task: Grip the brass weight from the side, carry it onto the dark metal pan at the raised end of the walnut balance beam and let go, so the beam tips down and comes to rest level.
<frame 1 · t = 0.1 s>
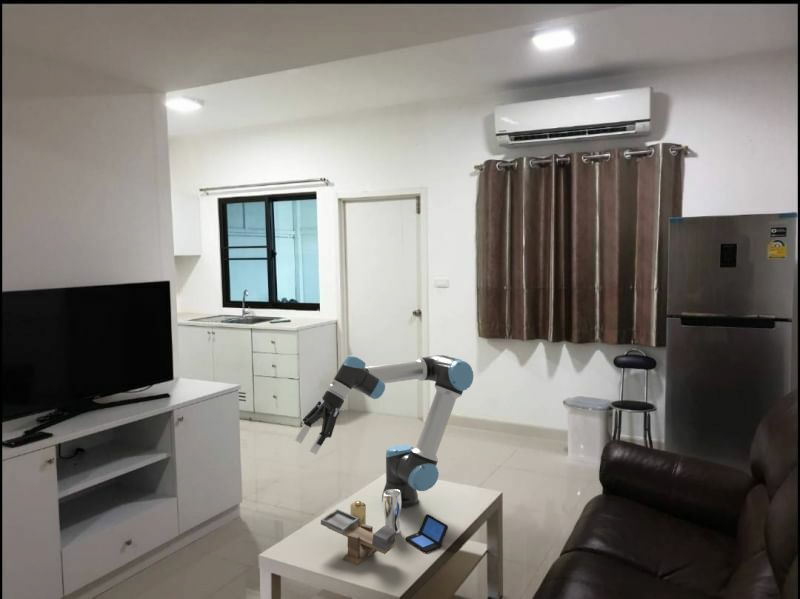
hand: (304, 447, 213), 36 cm above the table, tool tilted 35°, fingers open, 13 cm apart
brass weight: (358, 533, 224), on the table
balance beam: (358, 528, 209), point 9 cm above the table, hinge at -8.0°
handheld game console: (426, 543, 218), on the table
beam stand: (360, 554, 209), on the table
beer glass: (392, 531, 226), on the table
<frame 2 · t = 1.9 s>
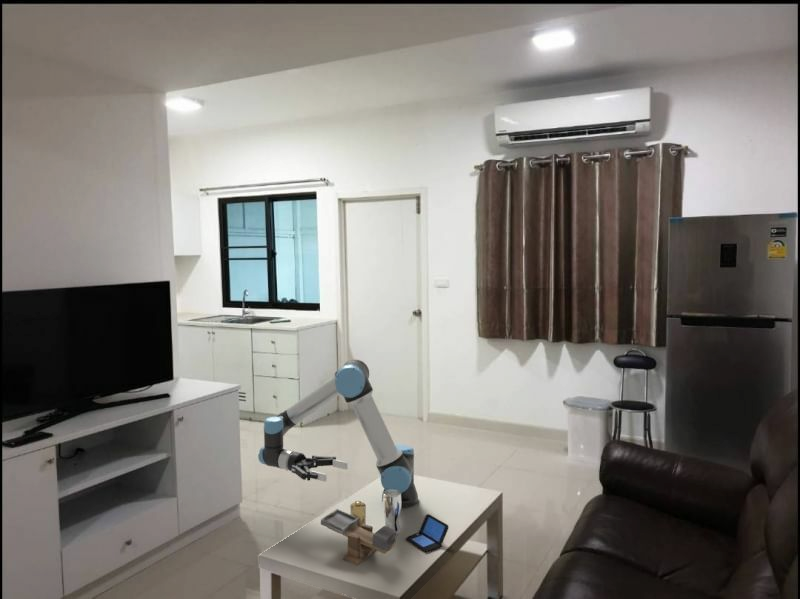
hand: (336, 471, 227), 22 cm above the table, tool horizontal, fingers open, 13 cm apart
nothing on the table moved.
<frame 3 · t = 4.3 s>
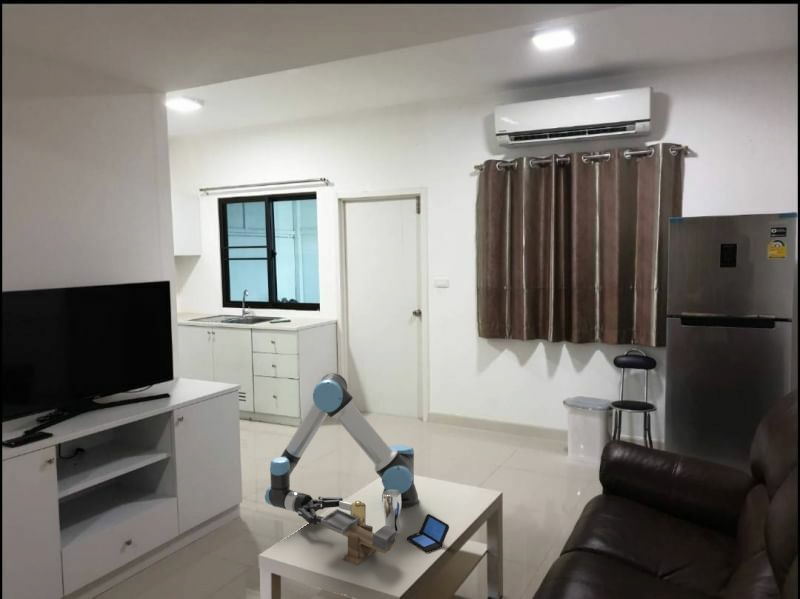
hand: (343, 514, 226), 6 cm above the table, tool horizontal, fingers open, 13 cm apart
nothing on the table moved.
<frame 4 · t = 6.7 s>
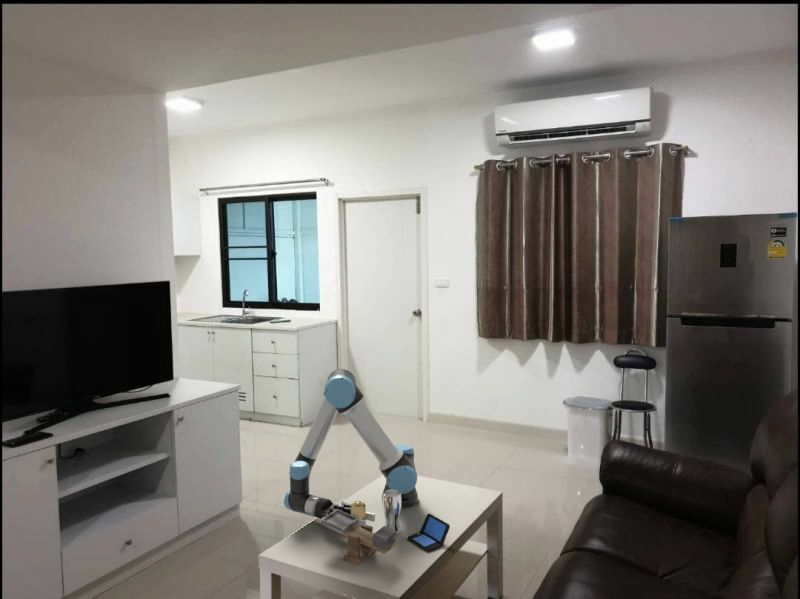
hand: (369, 521, 221), 6 cm above the table, tool horizontal, fingers closed on brass weight, 6 cm apart
brass weight: (358, 533, 224), on the table, touching gripper
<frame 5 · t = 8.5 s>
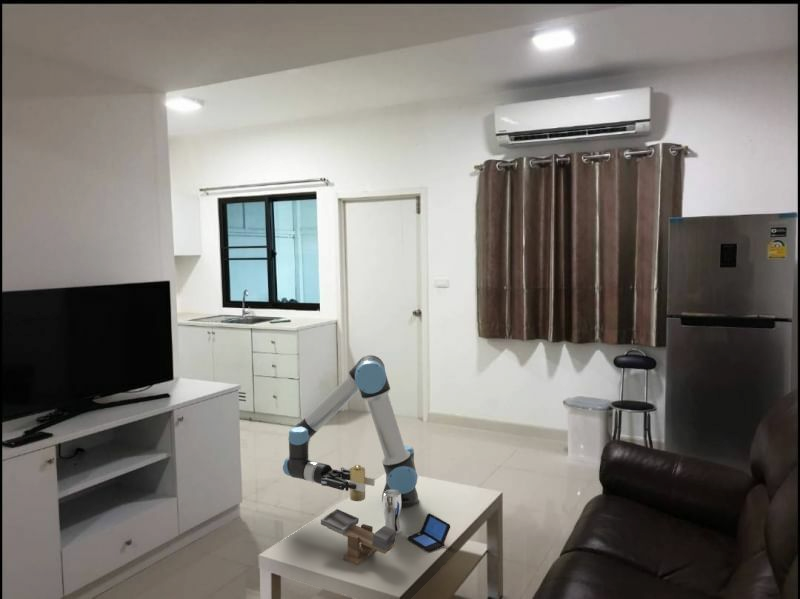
hand: (369, 485, 219), 20 cm above the table, tool horizontal, fingers closed on brass weight, 6 cm apart
brass weight: (357, 498, 223), point 14 cm above the table, touching gripper
when the fingers open (18 cm above the table, at t = 10.6 s): brass weight drops 2 cm, resting on balance beam.
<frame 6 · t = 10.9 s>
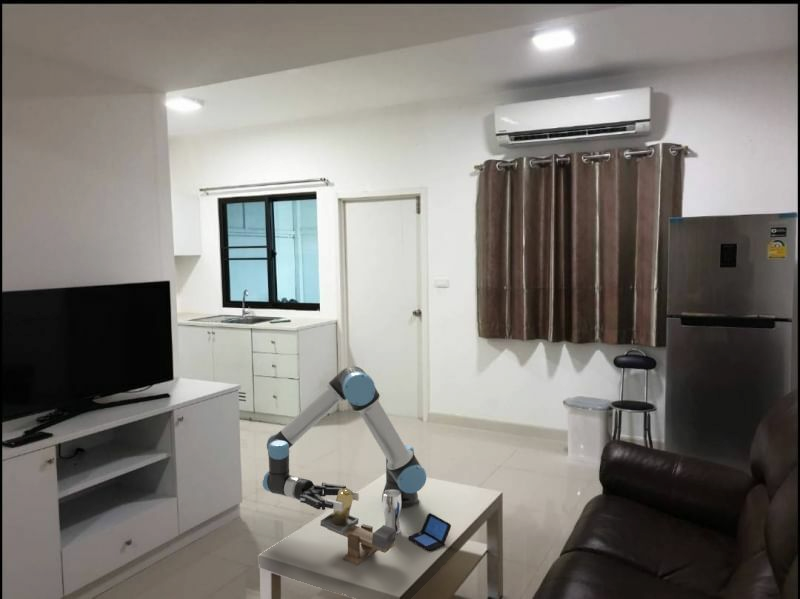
hand: (350, 501, 209), 18 cm above the table, tool horizontal, fingers open, 9 cm apart
brass weight: (339, 520, 213), point 10 cm above the table, tilted 16°, touching balance beam
balance beam: (358, 528, 209), point 9 cm above the table, hinge at -5.9°, touching brass weight
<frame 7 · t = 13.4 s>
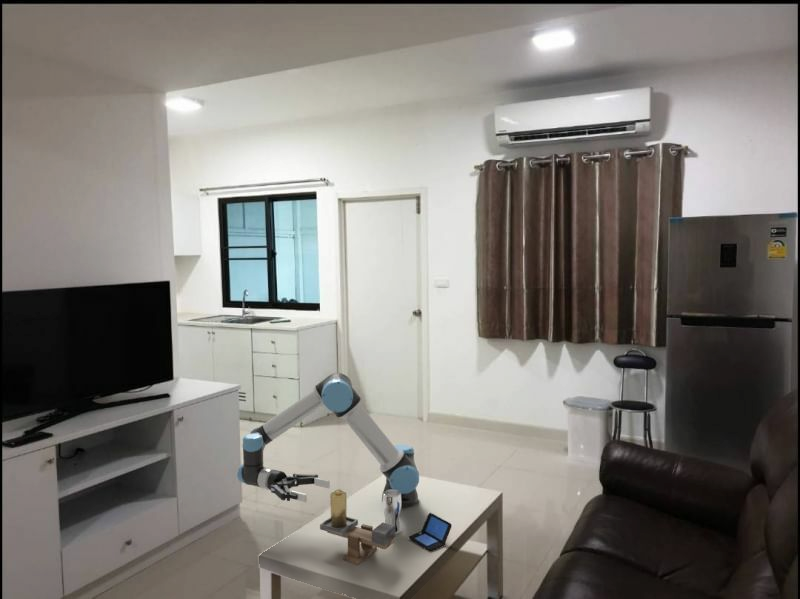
hand: (317, 491, 217), 19 cm above the table, tool horizontal, fingers open, 13 cm apart
brass weight: (338, 524, 213), point 9 cm above the table, touching balance beam
balance beam: (358, 528, 209), point 9 cm above the table, hinge at 0.2°, touching brass weight
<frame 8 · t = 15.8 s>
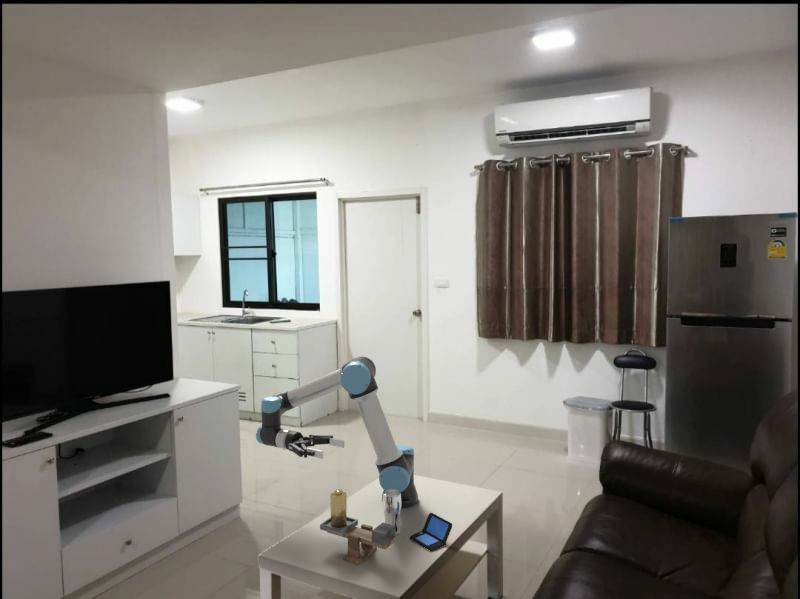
hand: (333, 449, 228), 30 cm above the table, tool horizontal, fingers open, 13 cm apart
at the end: balance beam at +0° (first picture: -8°); brass weight inside the target area on the balance beam (0.2 cm from its centre), point 1.7 cm above the balance beam's base; brass weight tilted 0° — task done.
